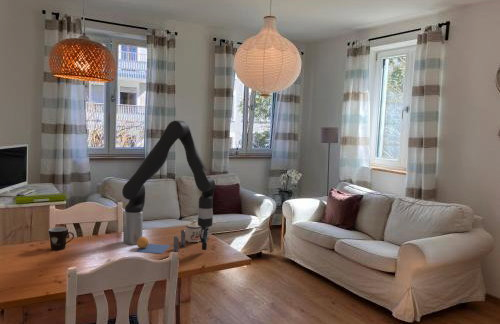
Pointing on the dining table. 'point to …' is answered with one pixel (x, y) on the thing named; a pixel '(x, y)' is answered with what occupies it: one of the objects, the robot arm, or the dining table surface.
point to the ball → (142, 242)
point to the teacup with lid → (193, 232)
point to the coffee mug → (58, 238)
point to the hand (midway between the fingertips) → (204, 249)
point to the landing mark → (153, 248)
